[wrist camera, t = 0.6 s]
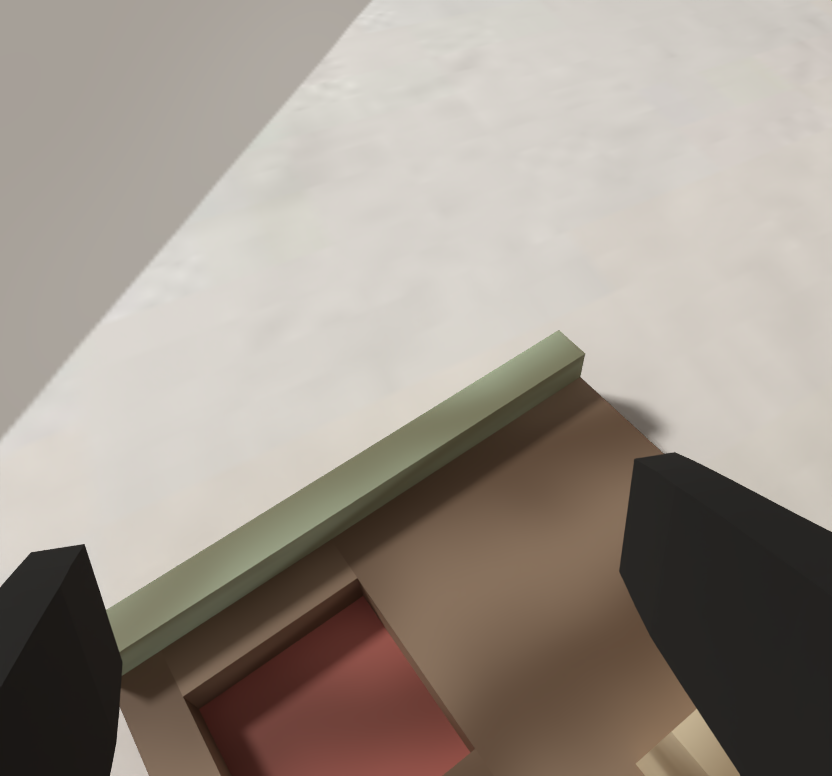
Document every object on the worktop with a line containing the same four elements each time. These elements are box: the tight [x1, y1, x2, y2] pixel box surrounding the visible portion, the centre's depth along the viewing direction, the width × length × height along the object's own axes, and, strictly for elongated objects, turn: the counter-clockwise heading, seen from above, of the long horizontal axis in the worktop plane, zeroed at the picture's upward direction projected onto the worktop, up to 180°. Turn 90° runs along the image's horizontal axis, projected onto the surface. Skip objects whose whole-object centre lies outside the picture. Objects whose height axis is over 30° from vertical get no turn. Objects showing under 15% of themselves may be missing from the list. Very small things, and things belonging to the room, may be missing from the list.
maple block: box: [636, 709, 740, 776], centre depth 19 cm, size 4×4×4 cm
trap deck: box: [106, 330, 697, 776], centre depth 22 cm, size 21×20×4 cm
